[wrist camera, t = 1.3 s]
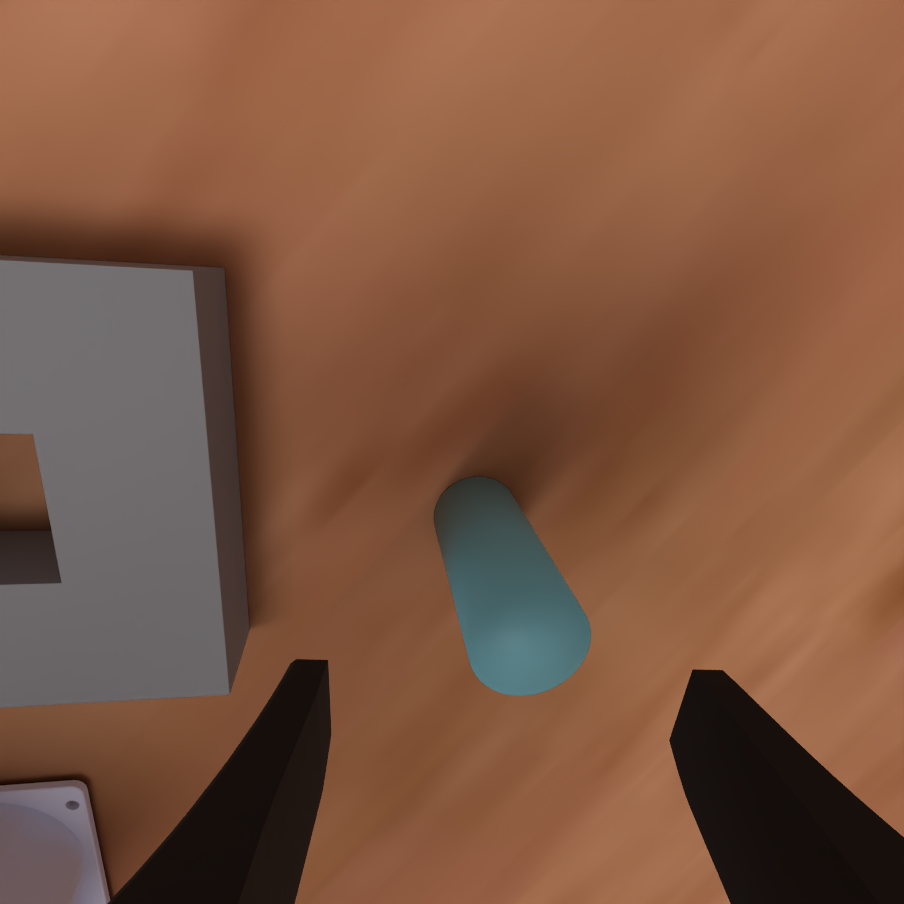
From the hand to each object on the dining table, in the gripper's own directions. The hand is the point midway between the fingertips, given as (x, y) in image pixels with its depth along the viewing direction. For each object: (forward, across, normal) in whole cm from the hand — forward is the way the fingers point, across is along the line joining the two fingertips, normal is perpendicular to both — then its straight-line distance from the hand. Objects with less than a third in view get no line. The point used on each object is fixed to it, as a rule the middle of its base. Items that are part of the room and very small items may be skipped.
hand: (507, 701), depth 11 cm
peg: (+11, 0, +3) cm, 12 cm away
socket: (+10, +16, 0) cm, 18 cm away
